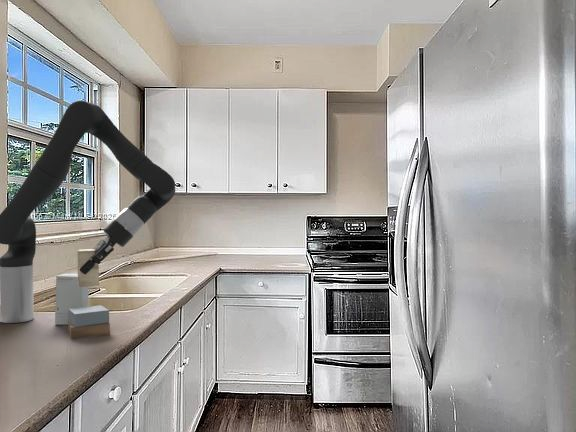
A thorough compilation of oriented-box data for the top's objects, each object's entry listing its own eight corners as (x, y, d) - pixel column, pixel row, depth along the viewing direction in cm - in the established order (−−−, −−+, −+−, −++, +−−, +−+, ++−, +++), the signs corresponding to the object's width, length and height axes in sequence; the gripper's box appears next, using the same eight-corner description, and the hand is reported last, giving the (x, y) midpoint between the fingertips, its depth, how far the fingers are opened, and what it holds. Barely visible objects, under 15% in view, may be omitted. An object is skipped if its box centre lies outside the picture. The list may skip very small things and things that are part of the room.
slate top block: (68, 321, 146) (68, 308, 145) (101, 317, 151) (100, 305, 151) (75, 326, 138) (75, 314, 138) (109, 322, 143) (109, 310, 143)
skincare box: (54, 325, 153) (53, 276, 153) (62, 320, 159) (61, 273, 159) (82, 324, 154) (82, 275, 153) (89, 320, 160) (89, 273, 159)
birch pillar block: (78, 284, 145) (77, 249, 145) (96, 283, 148) (96, 248, 147) (80, 287, 141) (79, 251, 141) (99, 285, 143) (98, 250, 143)
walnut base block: (68, 332, 147) (67, 320, 147) (104, 328, 151) (104, 316, 151) (71, 340, 138) (70, 327, 138) (109, 336, 142) (109, 323, 142)
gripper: (110, 217, 154) (68, 260, 148) (118, 218, 141) (72, 265, 136) (129, 234, 156) (88, 276, 151) (138, 237, 144) (94, 283, 138)
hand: (81, 271), depth 143 cm, fingers closed on birch pillar block, 5 cm apart
